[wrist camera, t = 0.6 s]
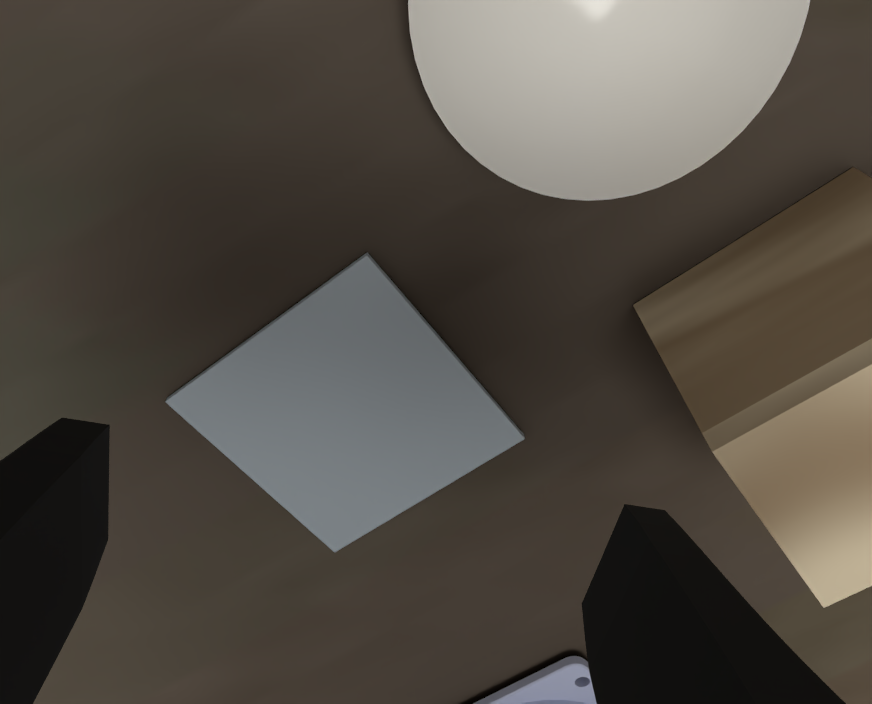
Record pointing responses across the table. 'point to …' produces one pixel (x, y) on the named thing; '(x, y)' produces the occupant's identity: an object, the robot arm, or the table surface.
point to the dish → (600, 84)
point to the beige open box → (787, 375)
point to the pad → (347, 407)
